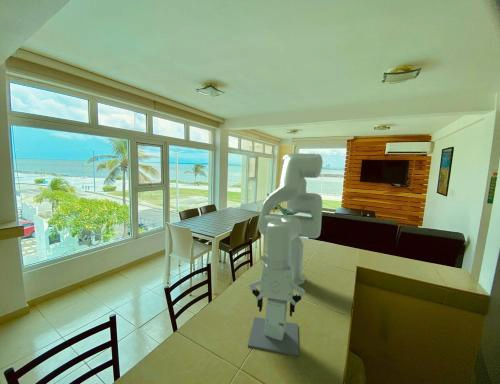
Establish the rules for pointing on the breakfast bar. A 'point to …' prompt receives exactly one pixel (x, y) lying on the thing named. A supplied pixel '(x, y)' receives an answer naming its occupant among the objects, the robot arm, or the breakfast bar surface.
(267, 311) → the skincare box
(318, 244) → the breakfast bar surface
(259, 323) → the mat
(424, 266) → the breakfast bar surface
